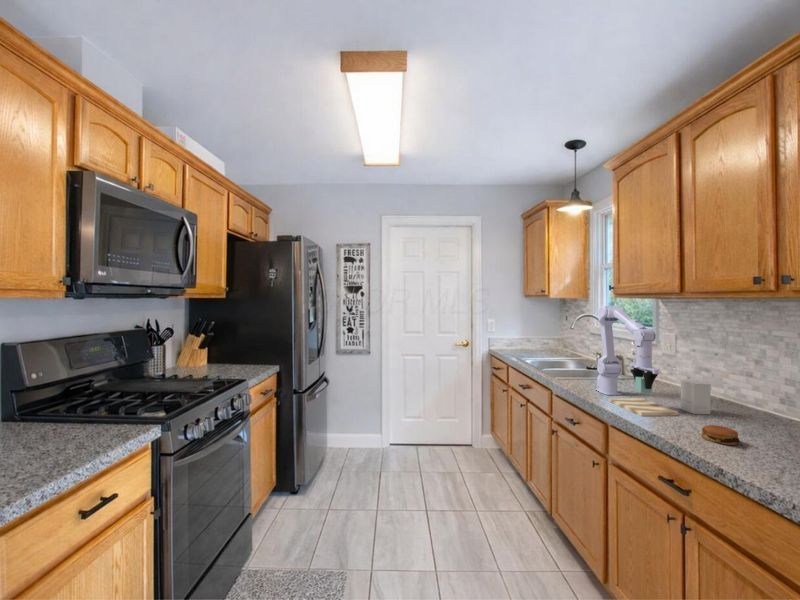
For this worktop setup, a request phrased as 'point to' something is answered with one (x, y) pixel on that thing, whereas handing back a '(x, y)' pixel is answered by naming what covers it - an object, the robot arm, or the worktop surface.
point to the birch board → (644, 407)
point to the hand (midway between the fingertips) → (643, 387)
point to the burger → (720, 435)
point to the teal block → (641, 385)
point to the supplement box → (695, 396)
